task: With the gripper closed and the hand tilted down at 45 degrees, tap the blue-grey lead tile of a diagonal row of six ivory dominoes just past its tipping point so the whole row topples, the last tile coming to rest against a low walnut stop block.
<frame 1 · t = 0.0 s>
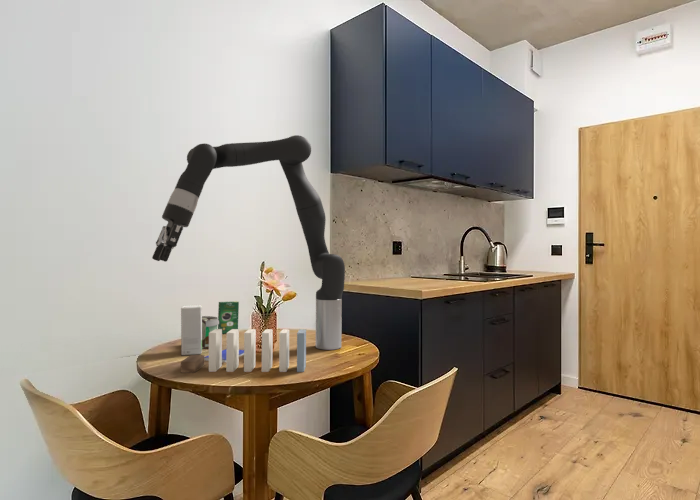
hand: (158, 260, 122), 31 cm above the table, tool tilted 20°, fingers open, 8 cm apart
domino 6: (215, 368, 126), on the table
domino 4: (249, 368, 126), on the table
food container: (209, 346, 157), on the table
domino 5: (232, 368, 126), on the table
skincare box: (191, 353, 146), on the table
hard drive: (225, 358, 140), on the table
stop block: (192, 368, 126), on the table
domino 2: (284, 368, 126), on the table
domino 1: (301, 369, 126), on the table
domino 3: (267, 368, 126), on the table
coffee box: (228, 333, 180), on the table
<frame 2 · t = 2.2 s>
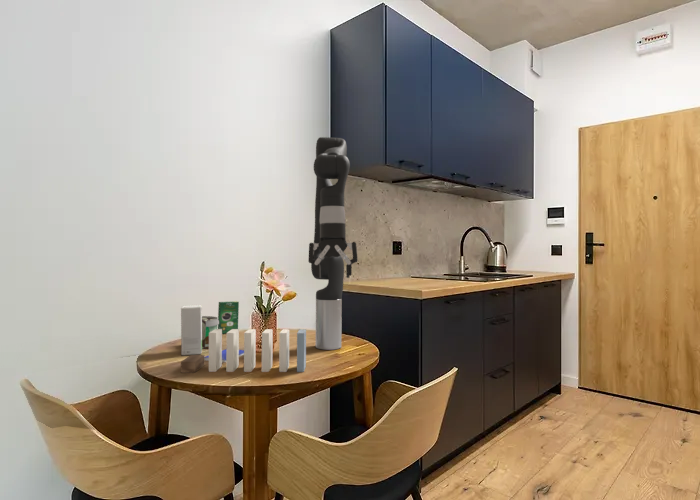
hand: (333, 277, 127), 27 cm above the table, tool pointing down, fingers open, 8 cm apart
nothing on the table moved.
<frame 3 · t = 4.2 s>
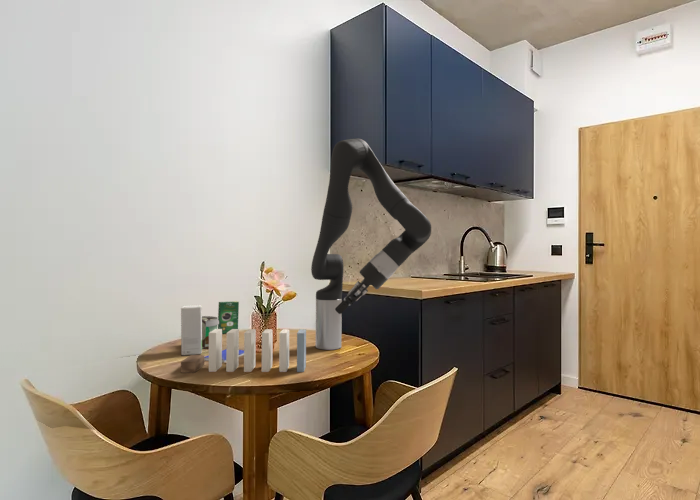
hand: (337, 311, 126), 17 cm above the table, tool tilted 45°, fingers closed
nothing on the table moved.
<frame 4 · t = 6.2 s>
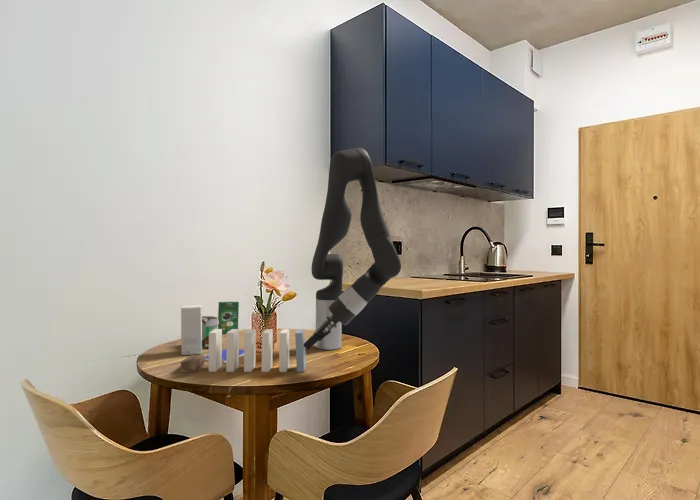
hand: (305, 347, 126), 6 cm above the table, tool tilted 45°, fingers closed
domino 1: (301, 368, 126), on the table, touching gripper
everything else where it was.
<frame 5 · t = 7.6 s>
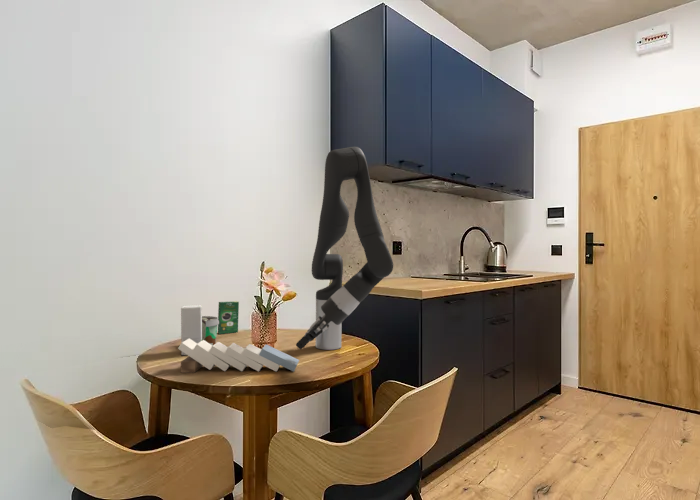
hand: (298, 346, 126), 6 cm above the table, tool tilted 45°, fingers closed
domino 6: (215, 364, 126), point 1 cm above the table, tilted 56°, touching domino 5, stop block
domino 4: (246, 365, 126), point 1 cm above the table, tilted 60°, touching domino 3, domino 5
domino 5: (229, 365, 126), point 1 cm above the table, tilted 56°, touching domino 4, domino 6
domino 2: (279, 365, 126), point 1 cm above the table, tilted 64°, touching domino 1, domino 3
domino 1: (296, 365, 126), point 1 cm above the table, tilted 65°, touching domino 2
domino 3: (262, 365, 126), point 1 cm above the table, tilted 62°, touching domino 2, domino 4
everything else where it was.
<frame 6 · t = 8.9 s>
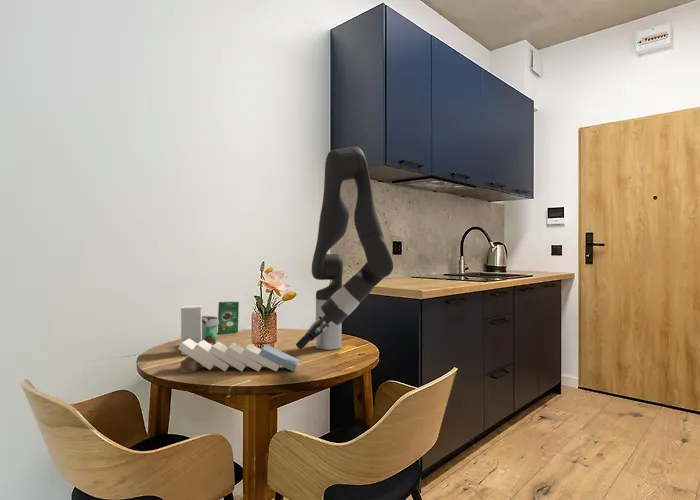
hand: (298, 346, 126), 6 cm above the table, tool tilted 45°, fingers closed
nothing on the table moved.
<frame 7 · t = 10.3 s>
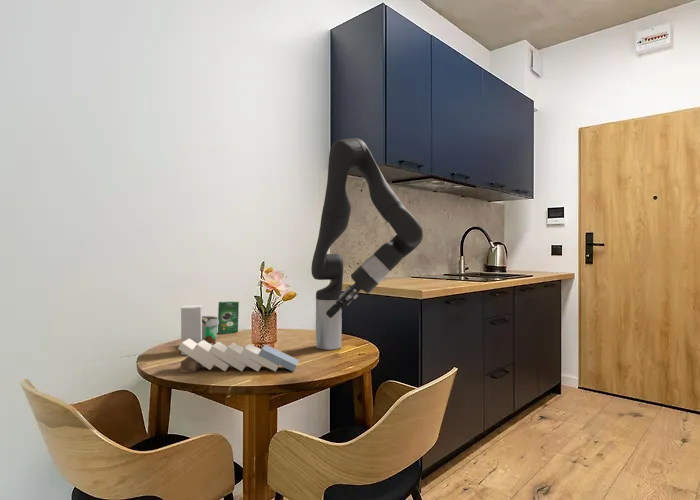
hand: (328, 315, 126), 16 cm above the table, tool tilted 45°, fingers closed
nothing on the table moved.
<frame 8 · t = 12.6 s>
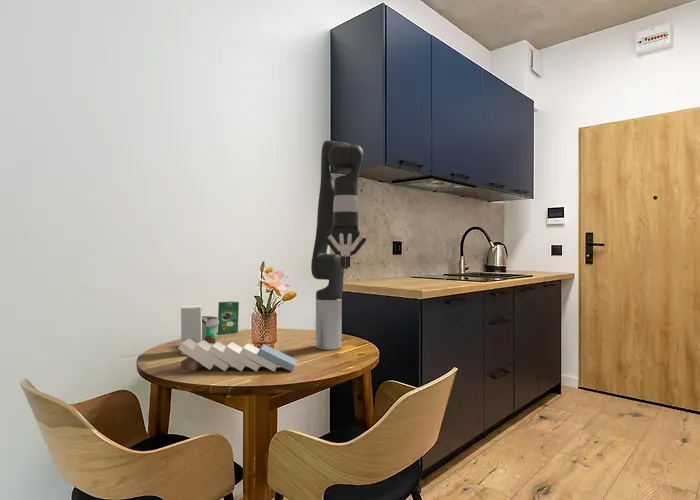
hand: (345, 268, 130), 29 cm above the table, tool pointing down, fingers closed
at the end: domino 6 tilted 56°; domino 1 tilted 64° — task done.
